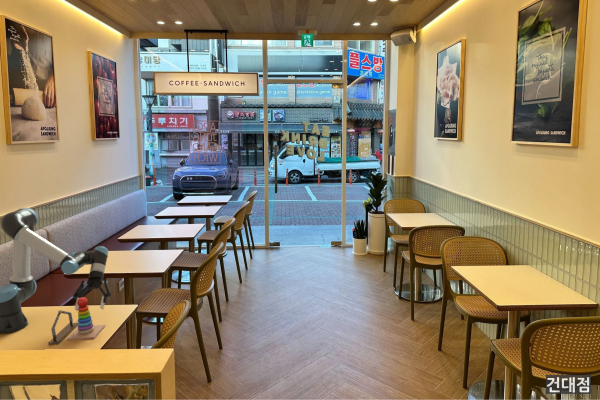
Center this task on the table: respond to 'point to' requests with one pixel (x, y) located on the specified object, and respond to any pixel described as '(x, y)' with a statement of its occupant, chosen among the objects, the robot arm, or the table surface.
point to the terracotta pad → (91, 335)
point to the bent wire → (65, 331)
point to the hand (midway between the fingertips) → (89, 309)
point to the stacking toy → (84, 317)
